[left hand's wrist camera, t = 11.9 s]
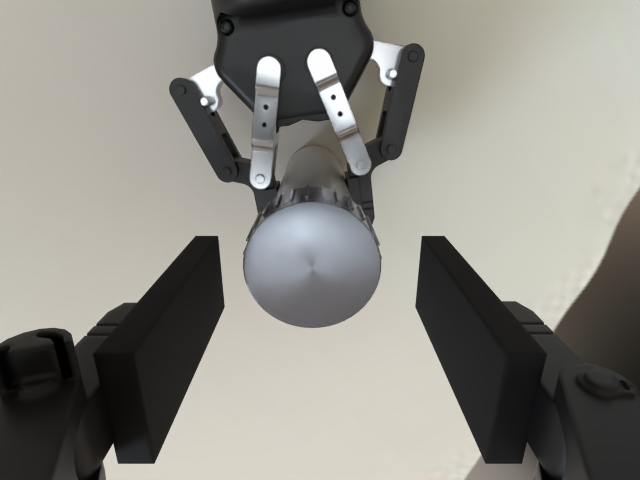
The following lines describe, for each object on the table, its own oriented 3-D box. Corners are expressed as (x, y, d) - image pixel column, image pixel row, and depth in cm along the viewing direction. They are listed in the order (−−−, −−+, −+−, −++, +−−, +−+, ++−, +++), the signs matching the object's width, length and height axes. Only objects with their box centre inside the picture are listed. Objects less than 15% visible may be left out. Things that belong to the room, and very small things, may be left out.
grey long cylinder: (276, 167, 30) (231, 252, 14) (320, 133, 30) (325, 184, 13) (308, 209, 32) (301, 332, 15) (351, 178, 31) (391, 274, 15)
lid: (225, 232, 16) (210, 255, 14) (326, 158, 15) (328, 169, 13) (301, 319, 17) (298, 352, 15) (397, 256, 16) (410, 282, 14)
